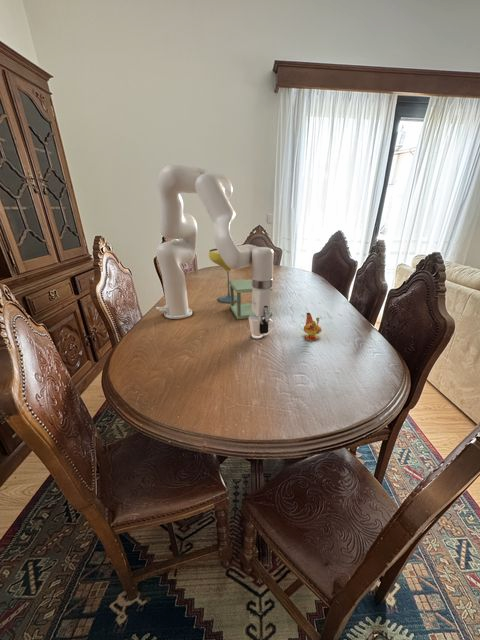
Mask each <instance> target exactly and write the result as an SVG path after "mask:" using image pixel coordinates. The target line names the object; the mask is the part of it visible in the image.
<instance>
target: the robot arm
mask: <svg viewBox="0 0 480 640" xmlns="http://www.w3.org/2000/svg"><path fill="white" fill-rule="evenodd" d="M157 180H158V181H157V183H158V184H157V185H158V192H159V199H160V200H159V228H160V229H159V230H160V233H161V235H162V237H163V238H165V239H167V240H171V241H165V242H162V243H160V244H158V245H157V247H156V249H155V255H156V259H157V262H158V265H159V268H160V273H161V279H162V280H161V281H162V286H163V293H164V298H165V299H164V300H165V305H163V306H156V307H155V309H156V312H159V313H163V315H164V317H165V318H167V319H170V320H181V319H182V320H183V319H187V318H189V317H191V316H192V315H193V310H192V309H191V308H189V302H188V301H189V300H188V291H187V283H186V282H187V281H186V276H185V272H184V270H183V269H182V268H181V266H180V265H182V264H183V265H184V264H187V263H191V262H192V261H194V259H195V257H196V253H197V243H198V224H197V220H196V218H194V216H193V215H192V214H190V213H187V212H184V200H183V197H182V195H181V194H182V193H183V194H184V193H185V194H197V195H198V198H199V199H200V201H201V203H202V204H203V207H204V208H205V211H206V213H207V214H208V216H209V218H210V219H211V221H212V223H213V240H214V244H215V245H214V246H215V249H217V250H218V252H219V254H220V256H221V258H222V259H223V261H224V263H225V264H226V265H227V266H228V267H229V268H231V270H234V271H235V270H241V269H244V268H248V267H251V279H252V289H253V290H252V292H251V303H252V305H251V308H252V311H253V312H254V314H256V316H258V317H260V320H261V323H260V334H262V335H264V334H266V333H268V332H269V323H270V321H269V319H271V318H270V317H271V316H270V312H271V311H272V291H271V292H270V290H271V289H272V290H273V280H274V258H275V257H274V256H275V254H274V253H275V252H274V250H273V249H272V248H271V247H267V246H258V245H254V244H250V243H247V244H240V245H236V242H235V241H234V239H233V237H232V234H231V231H230V227H231V226H230V225H231V223H232V222H233V221H234V220H235V217H236V211H235V209H234V208H233V205H232V203H231V202H230V199H231V197H232V195H233V185H232V182H231V180H230V179H229V178H228V177H227V176H226V175H224V174H221V173H217V172H214V171H210V170H208V169H205V168H201V167H195V166H189V165H182V164H169V165H165V166H164V167H163V168H162V169H161V170H160V172H159V174H158V179H157ZM180 193H181V194H180ZM271 313H272V312H271ZM262 314H265V315H263V316H262ZM262 317H265V319H263V318H262Z"/></svg>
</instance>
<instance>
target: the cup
mask: <svg viewBox="0 0 480 640" xmlns="http://www.w3.org/2000/svg"><path fill="white" fill-rule="evenodd" d="M262 316H263V315H262ZM262 318H263V319H265V317H262ZM248 322H249V323H248V324H249V329H250V333H251V338H253V339H256V340H259V339H262V338H263V337H266V336H268V335H269V334H270V333H272V332H273V331H274V328H275V324H274V321H273V320H272V319H271V318H270V319H269V322H271V323H272V328H271V329H270V330H268V333H263V334H260V323H261V320H260V317H258V316H256V314H253V315H250V317H249V318H248Z"/></svg>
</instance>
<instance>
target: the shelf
mask: <svg viewBox="0 0 480 640" xmlns="http://www.w3.org/2000/svg"><path fill="white" fill-rule="evenodd" d="M252 290H253V289H252V278H251V279H250V278H249V279H233V280H229V291H230V296H231V303H230V305H229V308H230V310H231V311H232V313H233V314H234V316H235V318H236V319H237V320H243V319H246V320H247V319H249V317H250V315H253V314H254V312H253V311H252V308H251V305H252V302H248V303H247V302H246V303H242V301H241V300H242V298H241V297H242V296H241V294H244V293H252ZM272 291H273V288H272V289H271V290H270V292H271V293H272ZM235 293H236V297H237V302H236V304H235V302H234V296H235ZM262 315H265V314H262ZM269 317H272V312H270V316H269Z"/></svg>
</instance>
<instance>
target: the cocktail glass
mask: <svg viewBox="0 0 480 640" xmlns="http://www.w3.org/2000/svg"><path fill="white" fill-rule="evenodd" d="M208 257H209V260H210V261H211V262H212V263H214V264H216V265H218V266H220V267H222V268H223V269H224V270H225V272H227V295H224V296H221V297H219V298H218V301H219V302H221V303H225V304H226V303H227V304H231V292H230V284H229V281H230V272H231V270H232V269H231V268H229V267H228V266H227V265H226V264H225V263H224V261H223V259H222V258H221V256H220V254H219V252H218V250H217V248H213V249H210V250H209V251H208ZM234 303H237V296H235V295H234Z"/></svg>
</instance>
